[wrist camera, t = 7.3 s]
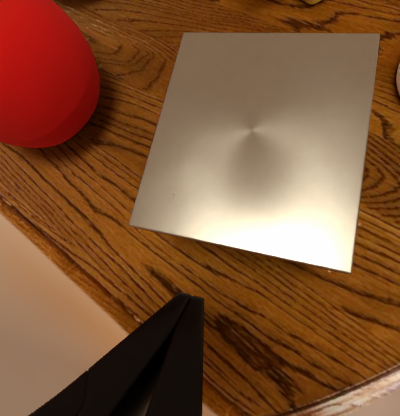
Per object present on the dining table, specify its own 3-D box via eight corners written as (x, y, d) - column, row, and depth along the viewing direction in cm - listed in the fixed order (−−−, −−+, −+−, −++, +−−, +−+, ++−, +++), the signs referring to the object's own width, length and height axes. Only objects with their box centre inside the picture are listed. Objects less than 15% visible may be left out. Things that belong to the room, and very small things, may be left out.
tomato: (71, 187, 27) (-64, 124, 16) (-7, 130, 31) (-157, 49, 20) (145, 85, 28) (68, -43, 17) (59, 43, 32) (-47, -80, 21)
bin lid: (346, 274, 13) (351, 274, 12) (134, 227, 16) (127, 225, 15) (375, 44, 15) (380, 32, 15) (186, 42, 18) (183, 31, 18)
